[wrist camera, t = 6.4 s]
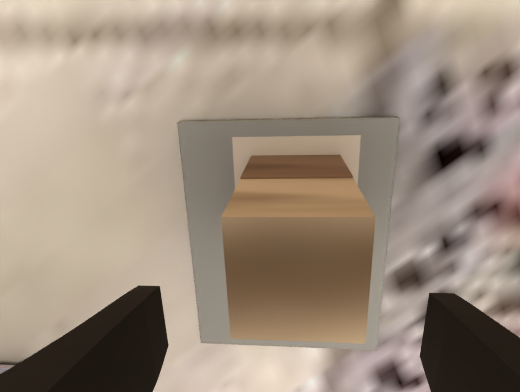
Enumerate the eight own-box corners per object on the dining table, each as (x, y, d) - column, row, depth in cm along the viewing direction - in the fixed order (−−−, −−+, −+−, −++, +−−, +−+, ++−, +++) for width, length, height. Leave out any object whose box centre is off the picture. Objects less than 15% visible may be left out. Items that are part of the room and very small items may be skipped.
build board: (374, 343, 22) (376, 351, 21) (203, 336, 23) (200, 344, 22) (396, 116, 17) (400, 118, 17) (180, 120, 18) (176, 122, 18)
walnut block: (336, 235, 19) (347, 275, 15) (254, 234, 19) (245, 273, 16) (340, 154, 17) (353, 176, 14) (251, 155, 18) (240, 177, 14)
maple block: (347, 277, 15) (365, 343, 11) (245, 275, 16) (230, 338, 12) (352, 178, 14) (375, 216, 10) (240, 179, 14) (220, 216, 10)
